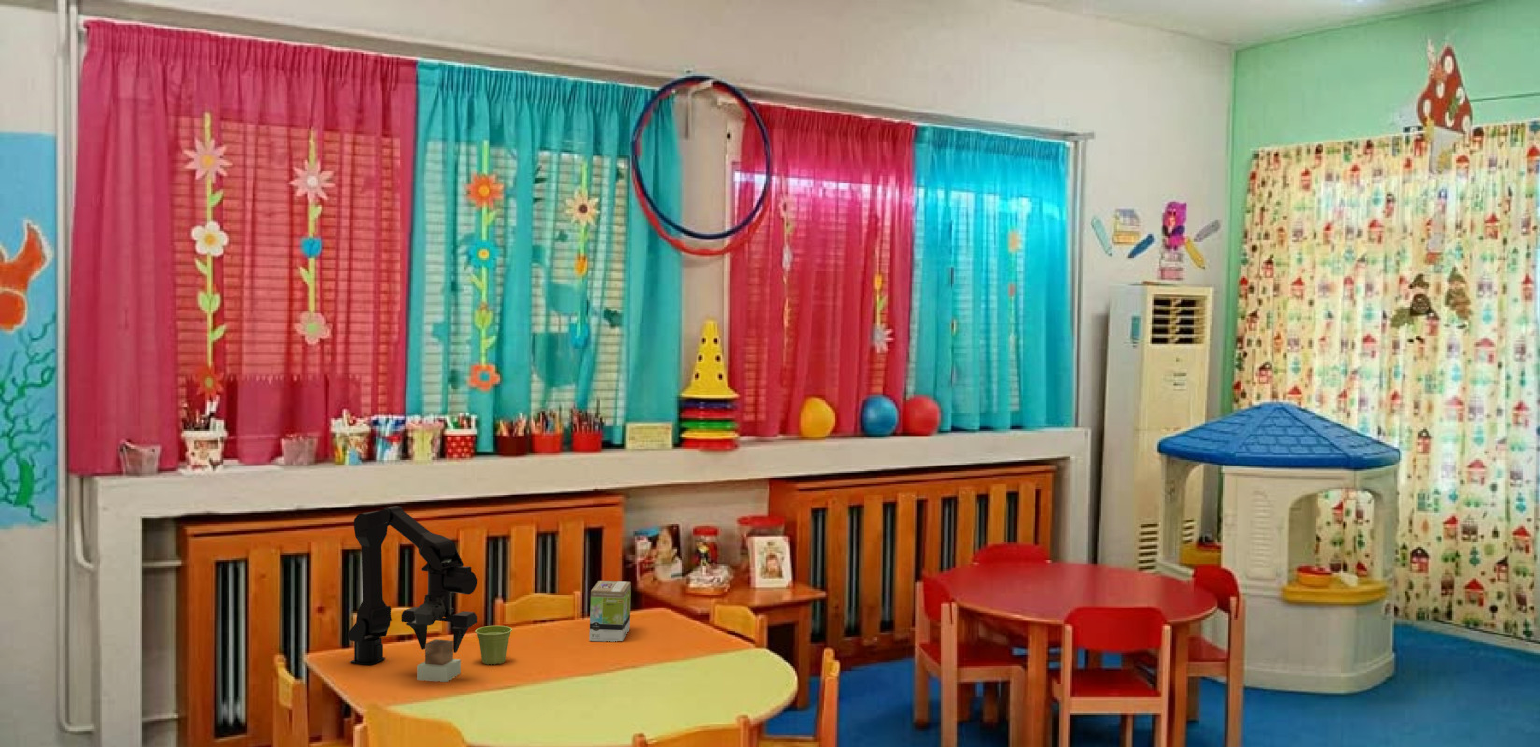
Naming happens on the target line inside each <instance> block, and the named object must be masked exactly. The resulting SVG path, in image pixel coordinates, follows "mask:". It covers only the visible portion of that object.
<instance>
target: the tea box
mask: <svg viewBox="0 0 1540 747" xmlns="http://www.w3.org/2000/svg"><path fill="white" fill-rule="evenodd" d="M631 585H632V583H631V581H621V580H619V581H618V580H617V581H616V580H614V581H613V580H597V582H596V583H595V585H594V586H593V587H592V589H590V590H591V591H590V609H589V610H590V612H589V614H590V616H589V635H588V636H589V639H588V640H589V641H590V642H606V641H608V642H609V641H610V643H611V642H612V643H614V642H615V641H616V642H615V643H618V642H617V641H622V642H623V641H624V640H625V638H626V636H627V635H628V633H629V630H630V625H631V620H630V619H631V592H632V591H631V590H632V588H631V587H632V586H631ZM627 632H628V633H627ZM626 634H627V635H626Z"/></svg>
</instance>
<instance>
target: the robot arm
mask: <svg viewBox="0 0 1540 747" xmlns="http://www.w3.org/2000/svg"><path fill="white" fill-rule="evenodd" d="M355 516H356V517H355V518H354V519H353V530H354V536H355V537H354V538H356V540H357V541H358V543H359V545H360V546H361V573H362V575H361V580H362V581H361V582H362V584H361V585H362V602H361V603H360V606H359V607H358V609H357V612H356V620H355V621H356V622H355V623H354V625H353V626H351V628H350V630H349V631H348V632H347V635H348V639H349V642H350V641H351V642H354V643H353V645H354V646H353V649H354V650H353V651H354V652H353V654H354V655H353V658H354V659H352V660H350V664H356V665H357V664H358V665H364V666H365V665H367V666H373V665H376V664H378V663H380V662H382V661H384V660H386V657H384V654H383V652H384V651H383V649H384V645H383V643H382V637H387V634H388V630H389V628H390V626H391V622H392V621H393V619H392V606H390V605H387V604H386V603H385V602H386V601H384V597H383V567H382V566H383V563H382V562H383V559H382V544H383V542H384V541H385V539H386V537H387V534H388V529H389V528H388V527H389V526H390V527H392V528H393V529H394V530H395V531H396V532H398V533H399V534H400V535H402V536H403V537H404V538H406V540H408V541H410V543H412V544H413V545H414V546H416V548H417V549H418V553H419V555H420V556H421V558H422V559H424V561H425V562H426V564H425V565H423V566H422V567H421V571H422V572H427V594H425V595H424V600H423V603H422V604H420V605H419V606H418V607H417V606H412V607H410V608H406V609H404V610H403V612H402V614H401V622H402V623H405V625H406V626H408V627H410V628H411V629H412V630H413V632H414V634H415V636H416V638H417V641H418V643H419V648H420V649H421V650H422V651H423V650H425V644H426V643H427V637H428V636H427V633H428V626H433V625H434V624H435V622H436V621H437V622H439V621H440V622H446V623H447V622H449V623H451V624H452V625H453V626H452V627H451V628H450V630H451V632H452V633H453V636H452V639H453V640H452V641H453V654H454V653H455V654H456V653H457V652H458V651H459V648H460V647H461V644H462V641H463V639H464V637H465V635H466V633H467V631H468V629H469V628H471V627H473V625H476V624H478V616H477V614H476V612H473V611H461V612H458V613H455V614H453V613H454V610H455V608H453V607H452V597H454V596H455V595H454V594H455V593H456V594H461V595H462V594H463V595H471V594H473V593H474V592H475V590H476V588H477V587H478V578H477V575H476V573H474V572H473V571H472V566H468V565H467V566H465V564H464V562H463V560H462V558H461V556H460V554H459V552H458V550H457V548H456V545H455V542H454V541H452V539H450V538H448V537H446V536H444V535H440V534H437V533H434V532H431V530H428V529H427V528H426V527H425V526H423V525H422V524H421V523H419V522H418V521H417V520H415V519H414V518H413V517H412V516H410V515H409V514H408V513H407V512H406V511H405V510H404V508H403V507H402V506H399V505H397V506H390V507H389V506H388V507H385V508H383V509H380V510H376V511H370V512H368V511H367V512H362V513H358V514H357V515H355Z"/></svg>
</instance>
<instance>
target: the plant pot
mask: <svg viewBox="0 0 1540 747" xmlns="http://www.w3.org/2000/svg"><path fill="white" fill-rule="evenodd" d="M512 630H513V629H512V627H510V626H507V625H488V626H481V627H478V628H477V629H475V631H474V632H475V634H476V636H477V639H478V644H479V651H480V657H481V658H480V659H481V663H483V664H484V665H489V664H491V665H490V666H493V665H492V664H494V665H496V664H500V665H501V664H503V663H505V662H506V658H507V652H508V646H509V645H508V644H509V638H510V636H511V632H512Z"/></svg>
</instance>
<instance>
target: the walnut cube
mask: <svg viewBox="0 0 1540 747" xmlns="http://www.w3.org/2000/svg"><path fill="white" fill-rule="evenodd" d="M453 657H454V652H453V640H448V639H447V640H446V639H438V638H436V639H433V640H431V641H428V642H426V644H425V649H424V661H425V664H435V665H444V664H446V663H448V662H450V661H452V660H453V659H454V658H453Z"/></svg>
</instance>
